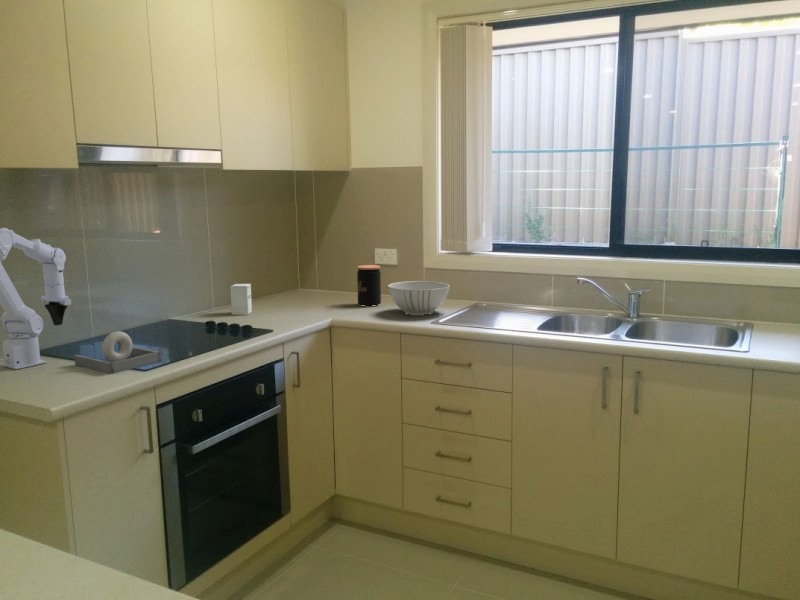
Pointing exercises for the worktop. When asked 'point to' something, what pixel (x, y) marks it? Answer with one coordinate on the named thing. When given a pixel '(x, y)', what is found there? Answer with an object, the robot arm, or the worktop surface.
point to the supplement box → (241, 299)
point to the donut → (110, 342)
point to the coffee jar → (369, 285)
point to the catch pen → (139, 359)
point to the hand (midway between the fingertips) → (58, 324)
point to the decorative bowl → (418, 296)
